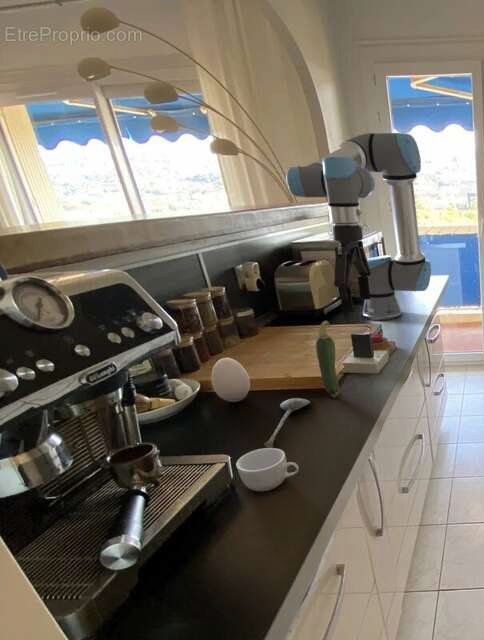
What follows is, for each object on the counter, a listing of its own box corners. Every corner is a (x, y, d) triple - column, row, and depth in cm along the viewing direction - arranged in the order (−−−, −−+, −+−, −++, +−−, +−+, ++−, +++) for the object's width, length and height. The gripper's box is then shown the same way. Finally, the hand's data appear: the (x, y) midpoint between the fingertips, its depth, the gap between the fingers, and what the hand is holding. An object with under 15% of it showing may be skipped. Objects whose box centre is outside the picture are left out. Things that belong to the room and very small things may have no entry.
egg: (247, 391, 117) (236, 350, 112) (259, 400, 112) (248, 358, 107) (213, 401, 112) (200, 358, 107) (224, 411, 107) (211, 367, 102)
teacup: (235, 498, 78) (227, 472, 75) (254, 472, 85) (247, 448, 82) (294, 496, 78) (288, 470, 76) (308, 470, 85) (303, 446, 83)
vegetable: (321, 398, 113) (307, 322, 105) (331, 391, 117) (318, 317, 108) (336, 400, 113) (323, 323, 104) (346, 393, 116) (334, 318, 108)
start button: (372, 339, 145) (371, 333, 144) (384, 339, 145) (384, 333, 144) (368, 343, 141) (367, 337, 140) (381, 343, 141) (380, 337, 140)
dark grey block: (353, 357, 132) (350, 333, 128) (356, 354, 133) (353, 331, 130) (372, 357, 131) (369, 334, 128) (374, 355, 133) (371, 332, 130)
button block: (369, 346, 149) (368, 335, 147) (396, 347, 149) (394, 336, 147) (359, 357, 140) (357, 345, 138) (387, 358, 140) (385, 346, 138)
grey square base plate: (354, 358, 139) (352, 349, 138) (388, 360, 138) (387, 350, 137) (340, 372, 129) (338, 362, 128) (377, 373, 128) (376, 363, 127)
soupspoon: (315, 403, 112) (288, 406, 112) (312, 391, 111) (284, 393, 110) (285, 447, 92) (252, 450, 92) (281, 433, 91) (247, 436, 90)
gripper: (342, 229, 105) (354, 317, 114) (375, 220, 127) (383, 294, 136) (311, 228, 105) (325, 316, 115) (350, 220, 128) (359, 294, 137)
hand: (357, 304), depth 126 cm, fingers open, 13 cm apart
